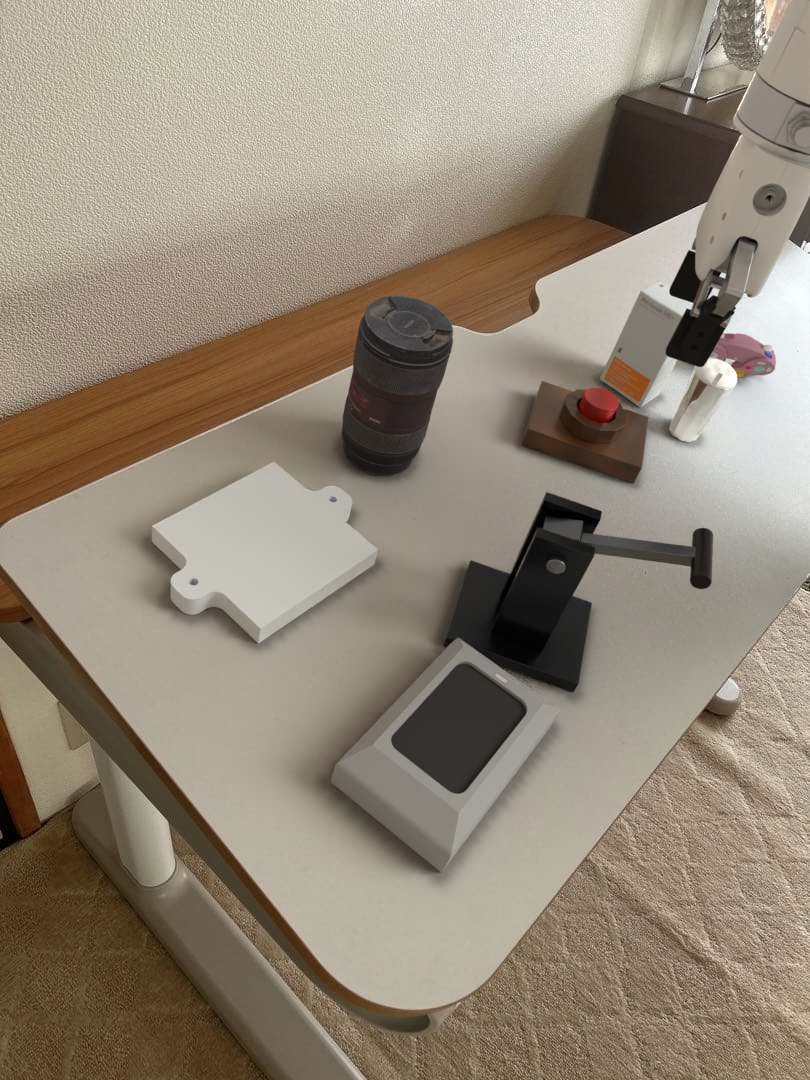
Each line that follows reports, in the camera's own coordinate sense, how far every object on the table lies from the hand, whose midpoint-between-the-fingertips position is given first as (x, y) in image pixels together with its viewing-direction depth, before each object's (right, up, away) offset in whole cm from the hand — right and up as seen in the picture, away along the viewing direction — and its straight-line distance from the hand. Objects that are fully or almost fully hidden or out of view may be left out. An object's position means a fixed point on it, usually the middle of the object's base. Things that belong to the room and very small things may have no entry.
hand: (684, 328), depth 72 cm
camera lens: (-26, -9, +13) cm, 30 cm away
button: (-3, -4, +18) cm, 19 cm away
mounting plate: (-34, -19, +1) cm, 39 cm away
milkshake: (+8, -6, +25) cm, 27 cm away
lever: (-7, -19, -7) cm, 21 cm away
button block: (-4, -7, +21) cm, 22 cm away
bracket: (-13, -25, +1) cm, 28 cm away
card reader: (-20, -33, -8) cm, 39 cm away
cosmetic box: (+3, 0, +29) cm, 29 cm away
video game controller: (+16, +3, +36) cm, 39 cm away
